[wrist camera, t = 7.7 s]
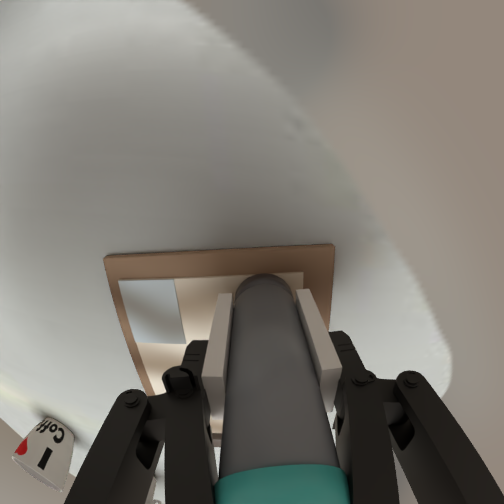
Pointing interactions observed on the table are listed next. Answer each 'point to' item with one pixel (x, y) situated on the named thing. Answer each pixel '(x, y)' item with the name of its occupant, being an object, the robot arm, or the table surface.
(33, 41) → the table surface
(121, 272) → the tan flat rectangular tray
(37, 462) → the cup
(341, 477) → the marker
